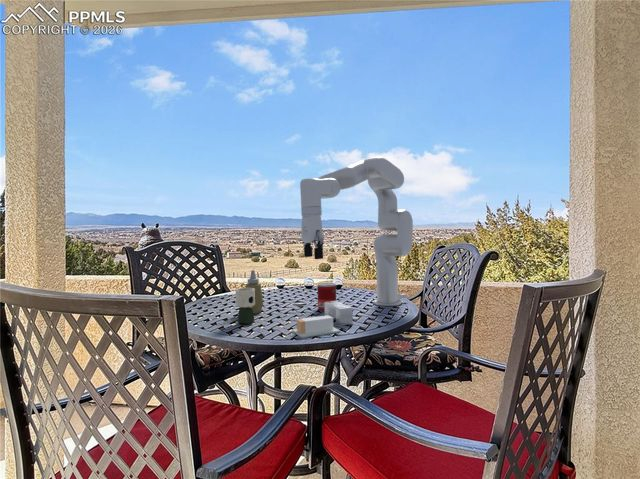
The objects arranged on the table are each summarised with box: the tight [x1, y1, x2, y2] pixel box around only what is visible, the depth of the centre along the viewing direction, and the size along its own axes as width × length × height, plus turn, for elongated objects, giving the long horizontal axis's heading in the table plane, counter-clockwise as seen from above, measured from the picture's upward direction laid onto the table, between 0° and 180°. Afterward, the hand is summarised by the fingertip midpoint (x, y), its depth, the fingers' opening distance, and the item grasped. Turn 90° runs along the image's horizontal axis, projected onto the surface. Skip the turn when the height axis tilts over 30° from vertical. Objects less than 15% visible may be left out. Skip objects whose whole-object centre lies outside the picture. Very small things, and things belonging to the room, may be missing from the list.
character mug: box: [235, 287, 255, 325], centre depth 146 cm, size 11×7×13 cm, turn 171°
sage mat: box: [291, 326, 341, 339], centre depth 133 cm, size 14×9×1 cm, turn 114°
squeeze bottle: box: [244, 269, 264, 315], centre depth 164 cm, size 8×8×18 cm
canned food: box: [317, 282, 337, 312], centre depth 167 cm, size 8×8×11 cm
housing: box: [324, 300, 354, 326], centre depth 147 cm, size 5×14×6 cm, turn 24°
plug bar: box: [296, 315, 334, 334], centre depth 133 cm, size 12×4×4 cm, turn 114°
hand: (313, 257), depth 145 cm, fingers open, 9 cm apart
